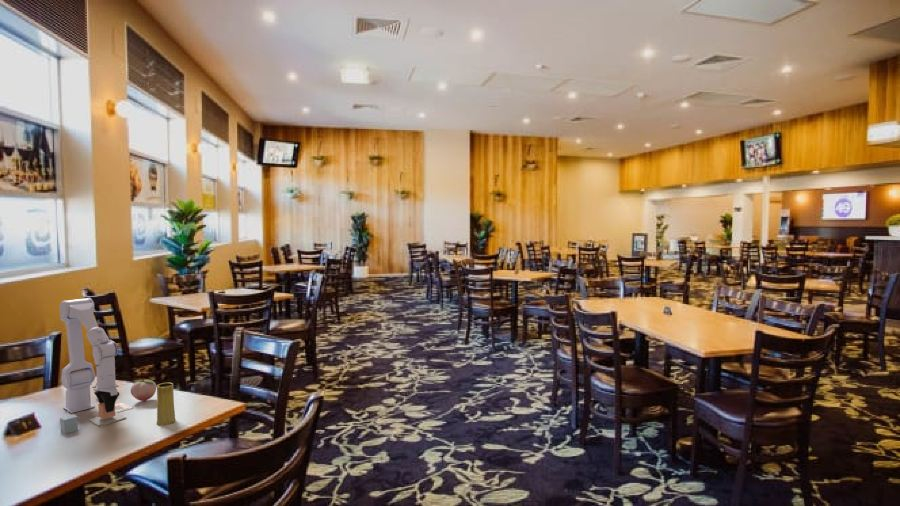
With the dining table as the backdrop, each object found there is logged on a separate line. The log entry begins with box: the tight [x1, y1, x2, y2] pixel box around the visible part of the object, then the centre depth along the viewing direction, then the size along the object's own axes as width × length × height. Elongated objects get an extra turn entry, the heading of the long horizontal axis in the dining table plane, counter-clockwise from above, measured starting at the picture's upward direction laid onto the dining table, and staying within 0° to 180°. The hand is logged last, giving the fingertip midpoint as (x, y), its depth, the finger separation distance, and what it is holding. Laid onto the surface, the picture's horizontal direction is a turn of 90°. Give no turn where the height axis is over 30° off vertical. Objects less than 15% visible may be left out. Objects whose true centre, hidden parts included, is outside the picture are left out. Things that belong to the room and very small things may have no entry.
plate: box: [89, 412, 127, 427], centre depth 188 cm, size 9×9×1 cm
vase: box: [156, 382, 176, 426], centre depth 185 cm, size 6×6×14 cm
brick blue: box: [59, 413, 79, 435], centre depth 178 cm, size 4×4×5 cm
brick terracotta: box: [97, 403, 115, 419], centre depth 188 cm, size 4×4×5 cm
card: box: [115, 402, 133, 413], centre depth 199 cm, size 10×7×1 cm
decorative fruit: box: [130, 377, 157, 402], centre depth 207 cm, size 9×8×10 cm
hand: (107, 410), depth 188 cm, fingers closed on brick terracotta, 4 cm apart
